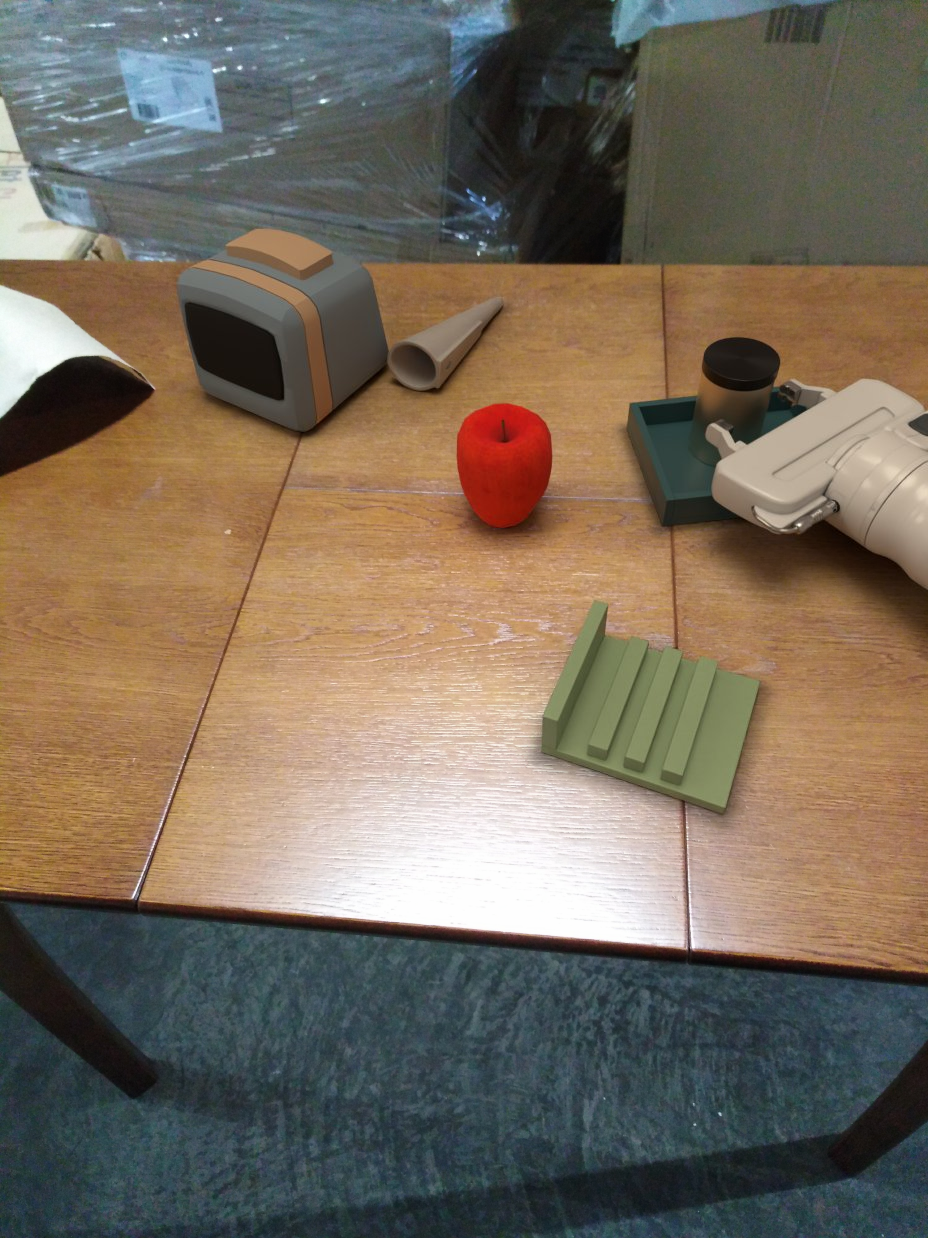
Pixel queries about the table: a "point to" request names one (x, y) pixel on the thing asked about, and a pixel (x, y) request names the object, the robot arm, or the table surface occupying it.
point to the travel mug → (733, 392)
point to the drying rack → (649, 715)
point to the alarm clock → (282, 326)
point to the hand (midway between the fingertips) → (748, 407)
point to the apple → (504, 462)
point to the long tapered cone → (439, 347)
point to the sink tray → (684, 457)
